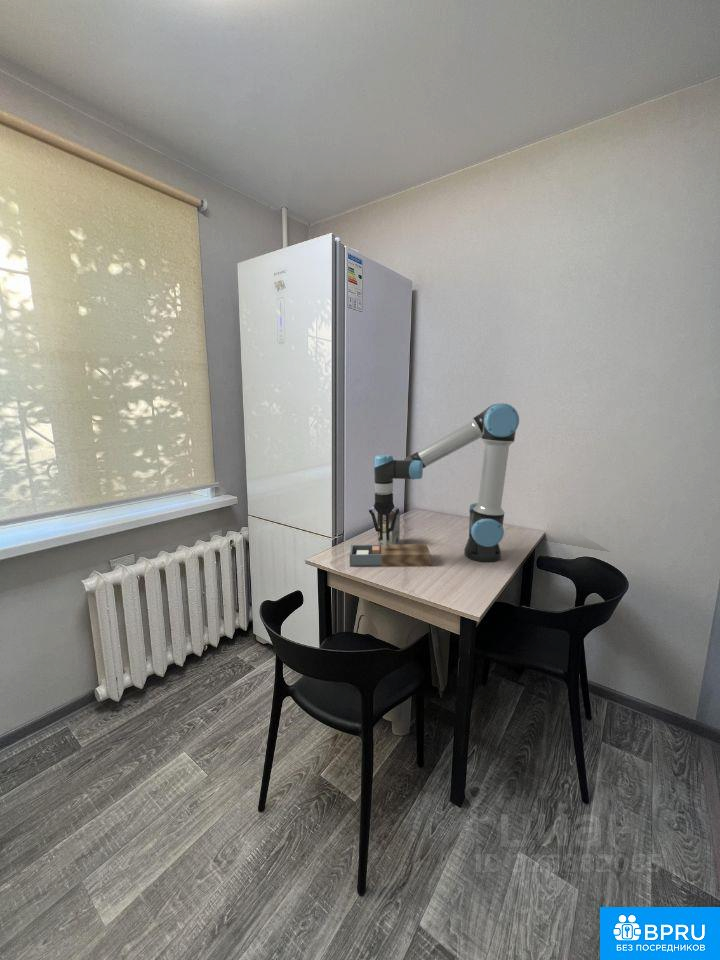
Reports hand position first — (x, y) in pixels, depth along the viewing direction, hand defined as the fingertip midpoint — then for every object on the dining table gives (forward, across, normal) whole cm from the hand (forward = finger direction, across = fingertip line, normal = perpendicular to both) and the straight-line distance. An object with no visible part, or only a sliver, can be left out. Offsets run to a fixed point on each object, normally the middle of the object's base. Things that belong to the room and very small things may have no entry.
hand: (384, 546), depth 163 cm
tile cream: (+2, +9, 0) cm, 10 cm away
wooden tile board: (+6, -8, 0) cm, 11 cm away
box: (+6, +8, 0) cm, 10 cm away
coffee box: (+6, -2, -20) cm, 21 cm away
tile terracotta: (+3, +2, 0) cm, 4 cm away
